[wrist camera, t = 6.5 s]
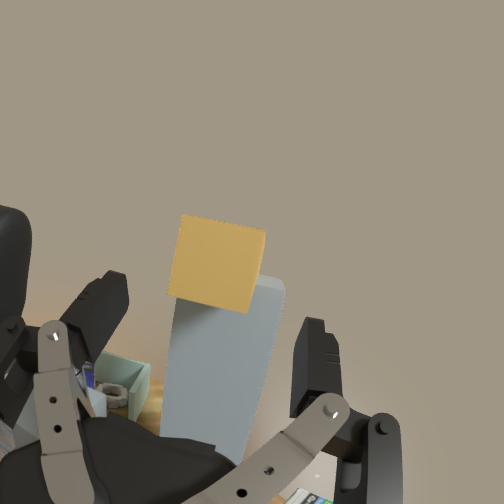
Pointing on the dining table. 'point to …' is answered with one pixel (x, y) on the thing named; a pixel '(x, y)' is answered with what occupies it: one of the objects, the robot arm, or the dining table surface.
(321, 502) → the light bulb box
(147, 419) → the dining table surface
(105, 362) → the l-shaped corner panel
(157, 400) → the dining table surface
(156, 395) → the dining table surface
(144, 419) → the dining table surface
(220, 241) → the rail
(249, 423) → the tall post
